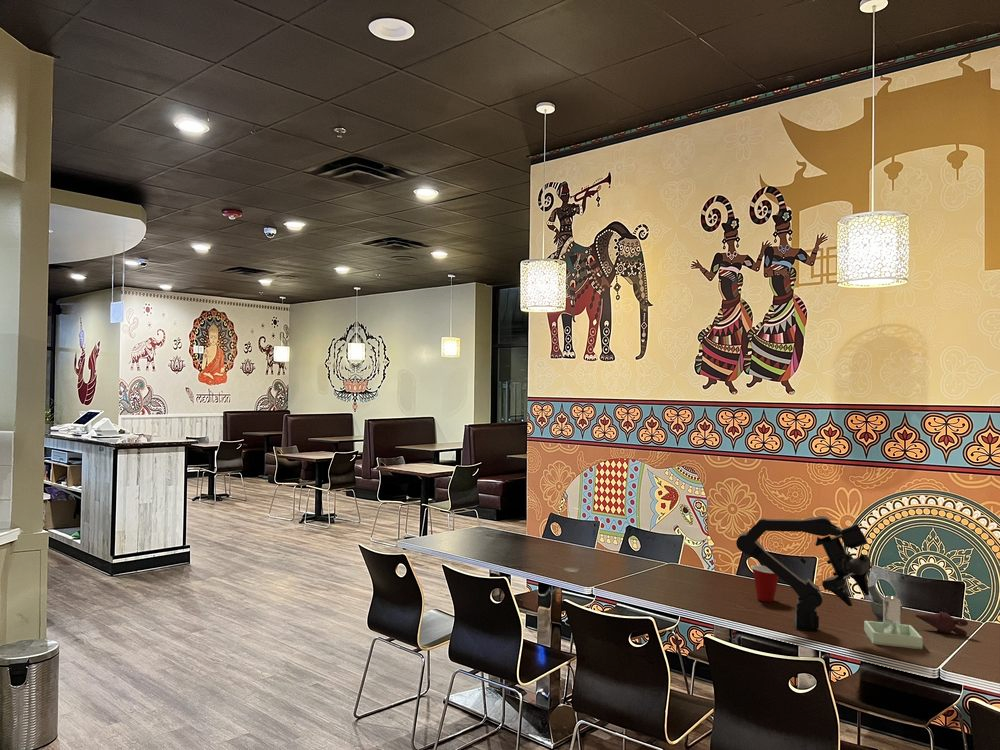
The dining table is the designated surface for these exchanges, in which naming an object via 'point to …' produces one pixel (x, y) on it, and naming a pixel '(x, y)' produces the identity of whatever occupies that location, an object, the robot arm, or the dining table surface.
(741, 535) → the robot arm
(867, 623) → the pale green bin
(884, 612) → the cylinder with three balls
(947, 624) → the icecream
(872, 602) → the mortar and pestle
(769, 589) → the plastic cup
